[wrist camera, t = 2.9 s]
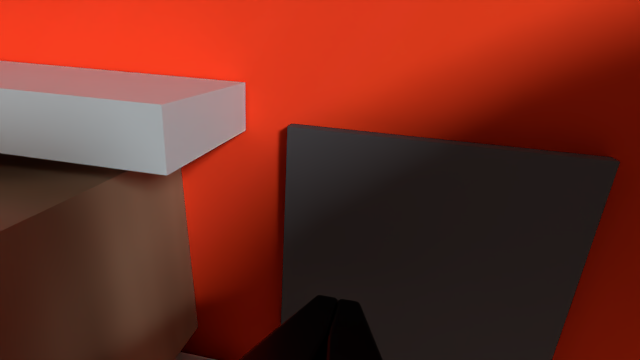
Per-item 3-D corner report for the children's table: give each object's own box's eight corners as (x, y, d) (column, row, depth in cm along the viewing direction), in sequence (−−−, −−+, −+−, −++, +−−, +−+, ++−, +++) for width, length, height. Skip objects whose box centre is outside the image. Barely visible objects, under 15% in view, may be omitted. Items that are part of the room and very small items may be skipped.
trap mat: (612, 157, 7) (619, 161, 7) (519, 432, 10) (522, 443, 9) (291, 123, 8) (287, 126, 8) (281, 380, 10) (278, 390, 10)
